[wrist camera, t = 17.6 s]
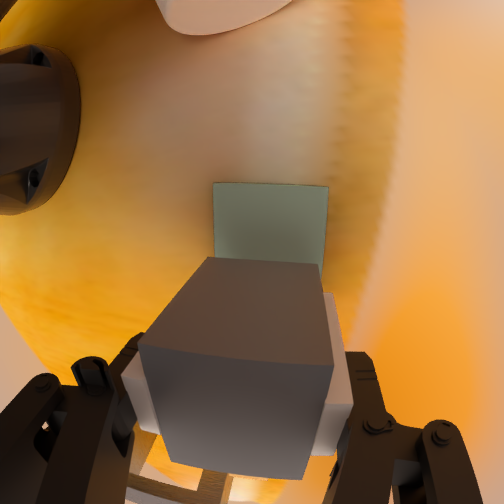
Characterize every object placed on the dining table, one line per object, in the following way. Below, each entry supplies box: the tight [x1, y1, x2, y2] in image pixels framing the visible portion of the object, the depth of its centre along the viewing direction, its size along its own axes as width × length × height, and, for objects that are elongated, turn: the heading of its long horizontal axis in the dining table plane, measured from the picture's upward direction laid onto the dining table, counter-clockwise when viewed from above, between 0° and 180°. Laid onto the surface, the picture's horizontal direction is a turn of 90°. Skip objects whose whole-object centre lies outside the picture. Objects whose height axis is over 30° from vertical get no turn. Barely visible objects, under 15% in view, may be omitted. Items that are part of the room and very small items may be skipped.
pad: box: [213, 183, 329, 278], centre depth 20 cm, size 12×7×1 cm, turn 0°
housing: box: [125, 421, 233, 504], centre depth 22 cm, size 4×17×10 cm, turn 90°
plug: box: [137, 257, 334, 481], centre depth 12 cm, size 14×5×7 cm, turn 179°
